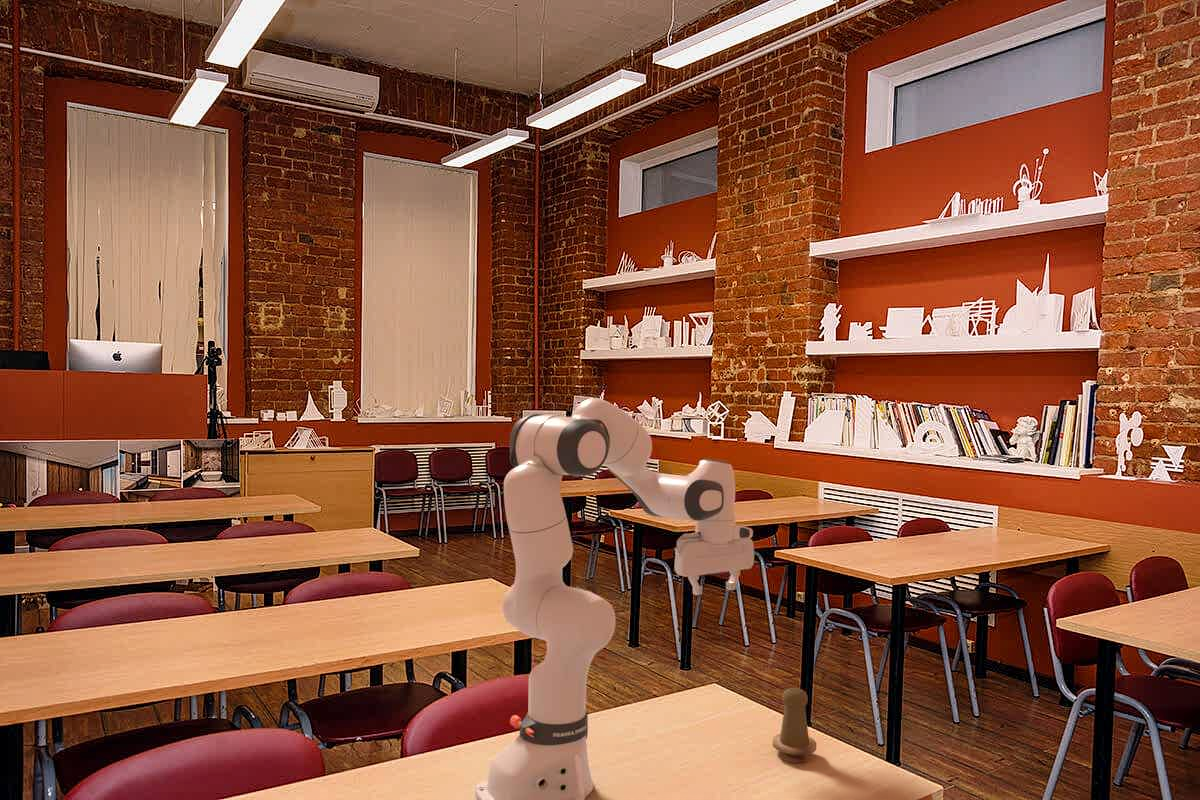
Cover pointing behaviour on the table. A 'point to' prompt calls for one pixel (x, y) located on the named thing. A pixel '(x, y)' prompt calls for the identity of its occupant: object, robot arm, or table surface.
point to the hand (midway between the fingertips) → (714, 591)
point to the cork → (794, 719)
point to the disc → (794, 751)
